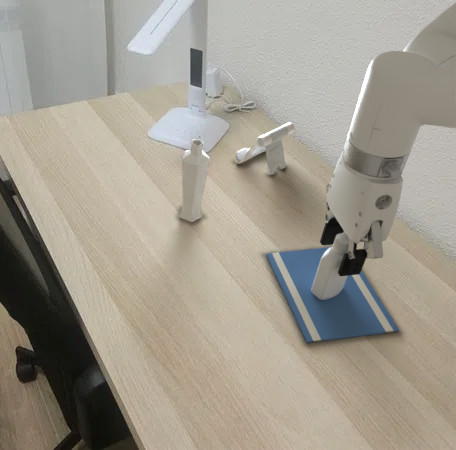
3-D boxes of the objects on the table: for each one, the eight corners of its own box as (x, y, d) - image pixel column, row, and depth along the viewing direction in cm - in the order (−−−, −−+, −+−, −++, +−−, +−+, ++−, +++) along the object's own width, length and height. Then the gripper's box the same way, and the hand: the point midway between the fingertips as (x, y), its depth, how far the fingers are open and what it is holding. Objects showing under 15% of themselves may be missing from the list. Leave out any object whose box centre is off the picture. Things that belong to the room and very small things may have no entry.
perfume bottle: (207, 211, 99) (216, 140, 89) (196, 225, 96) (204, 152, 86) (185, 203, 100) (191, 131, 91) (173, 216, 97) (178, 143, 88)
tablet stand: (262, 146, 115) (269, 111, 110) (292, 163, 111) (300, 127, 106) (234, 161, 111) (239, 124, 106) (263, 179, 107) (270, 142, 101)
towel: (345, 247, 93) (346, 245, 92) (398, 331, 79) (399, 329, 79) (265, 255, 91) (266, 253, 90) (306, 343, 77) (307, 341, 77)
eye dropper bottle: (349, 299, 83) (372, 240, 75) (314, 301, 83) (333, 242, 75) (339, 278, 86) (360, 220, 79) (304, 280, 86) (322, 221, 78)
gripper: (440, 193, 63) (391, 299, 74) (371, 117, 75) (338, 218, 87) (379, 198, 62) (339, 305, 73) (319, 120, 74) (293, 222, 86)
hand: (339, 257), depth 80 cm, fingers open, 5 cm apart
